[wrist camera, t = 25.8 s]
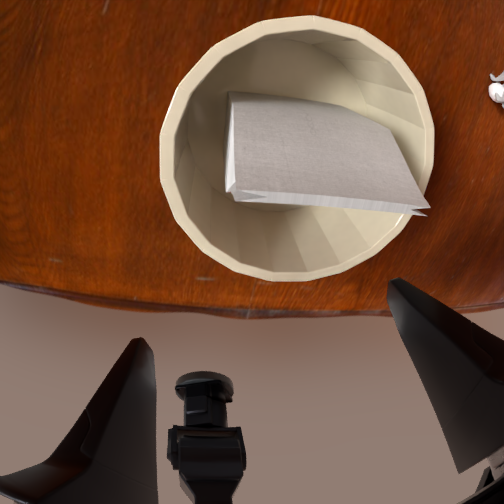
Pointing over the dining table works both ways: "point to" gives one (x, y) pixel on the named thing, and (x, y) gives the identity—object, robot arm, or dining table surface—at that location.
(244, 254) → the holder
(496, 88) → the dog figurine
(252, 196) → the tea bag
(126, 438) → the robot arm
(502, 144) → the dining table surface
